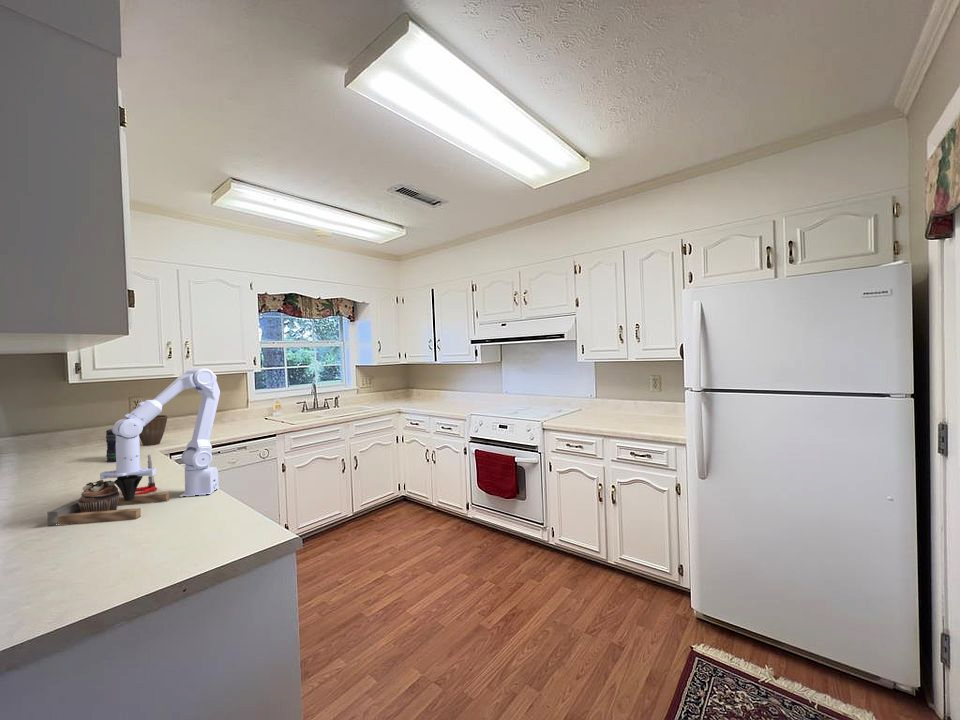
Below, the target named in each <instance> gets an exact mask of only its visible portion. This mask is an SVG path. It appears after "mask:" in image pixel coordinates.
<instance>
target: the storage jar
mask: <svg viewBox="0 0 960 720" xmlns="http://www.w3.org/2000/svg"><path fill="white" fill-rule="evenodd" d="M105 432H106V434H105V440H106V453H105V455H106V456H105V457H106V462H107V463H111V464H112V463H116V435H115V434H114V433H113V432H112V428H111V429H106V430H105Z"/></svg>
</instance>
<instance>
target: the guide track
mask: <svg viewBox="0 0 960 720" xmlns="http://www.w3.org/2000/svg"><path fill="white" fill-rule="evenodd" d="M170 494H171V493H170V491H168V492H155V493H153V492H152V493H145V494H137V495H135V496H134V499H132V500H130V501H125V500H124V497H123V496H121V495H120V496H119V501H118V505H117V506H127V505H128V506H129V505H139V504H140V505H141V504H151V502H154V503H162V502H161V501H166V502H168V501H169V499H170V500H171V498H170V497H171V496H170ZM79 499H80V498H78V499H75V500H73V501H71V502H68V503H66V504H64V505H61V506H59V507H56V508H54V509H52V510H49V511H47V513H46V515H47V526H48V525H55V526H59V525H58V524H68V525H72V524H71V523H80V524H88V523H87V522H92V523H103V522H104V521H105V522H115V521H127V520H137V519H139V518H140V517H141V515H142V514H141V512H142V511H141V508H140V507H139V508H125V509H117V510H110V511H97V512H84V513H81V510H80V506H79V504H78V501H79ZM167 500H168V501H167ZM56 524H57V525H56Z"/></svg>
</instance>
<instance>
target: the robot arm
mask: <svg viewBox="0 0 960 720" xmlns="http://www.w3.org/2000/svg"><path fill="white" fill-rule="evenodd" d="M217 378H218V377H217V375H216V374H215V373H214V372H213V371H212V370H211V369H210V368H203V367H202V368H190V369H187V370H186V371H185V372H184V373H182V374H180V375H179V376H178V377H177V378H176V379H175V380H174V381H173V382H171V383H170V384H169V385H168V386H167V387H166V388H165V389H163V390H162V391H161V392H160V393H159V394H157V396H155V398H153V399H146V400H145V401H140V402H139V403H137V405H138V406H137V407H135V408H134V409H133V410H132V411H131V412H130V413H126V414H125V415H124V417H125V418H121V419H119V420H117V421H116V422H115V423H114V424H113V426H112V428H111V429H112V432H113V433H114V434H115V435H116V462H115V469H116V470H108V471H107V470H106V471H102V472H100V473H99V479H100V480H105V479H115V480H113V481H114V483H115V486H116V487H117V488H118V490H120V492H121V494H123V497H124V500H125V501H130V500H132V499H134V496H135V493H137V491H136V489H137V488H138V486H139V485H140V482H141V481H142V479H143V477H148V476H155V475H157V468H155V467H154V468H153V467H152V469H150V468H148V467H146V468H145V467H144V468H143V467H141V445H140V444H141V443H140V442H141V440H140V437H139V434H140V433H141V432H142V430H143V426H145V425H147V424H148V423H149V422H150V421H151V420H152V419H154V418H155V417H156V416H157V415H161V413H162V411H163V406H164V405H166V404H167V403H168V402H170V401H171V400H172V399H174V398H175V397H176V396H177V395H179V394H180V393H182V391H184V390H188V389H195V390H196V391H197V392H198V393H199V394H200V396H201V398H200V401H199V402H200V403H199V407H198V411H197V416H196V420H195V425H194V427H193V432H192V437H191V440H190V441H189V442H188V443H187V445H186V448H185V450H184V451H183V452H182V454H181V455H180V456H181V457H180V459H181V462H182V464H184V492H183V493H181V494H180V495H179V497H180V498H181V497H182V498H184V497H183V496H186V497H196V496H195V495H199V496H207V495H206V494H210V495H211V494H213V493H215V491H214V490H216V489H215V488H217V490H219V489H220V486H219V470H218V467H216V466H210V465H211V463H212V462H213V454H212V449H213V447H212V444H211V440H210V439H211V435H212V431H213V427H214V423H215V422H214V421H215V418H216V413H217V409H218V404H219V400H220V395H221V391H220V388H219V383H218V381H217ZM217 490H216V491H217Z"/></svg>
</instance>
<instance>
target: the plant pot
mask: <svg viewBox="0 0 960 720" xmlns="http://www.w3.org/2000/svg"><path fill="white" fill-rule="evenodd" d="M167 420H168V415H166V414H165V415H164V414H162V415H161V414H158V415H157V416H156V417H155V418H154V419H152V420H151V421H150V422H149V423H148V424H147V425H145V426H143V430H142V432H141V433H140V434H139V441H140V442H141V443H142V446H146V447H148V446H156V445H160V443H161V441H162V439H163V436H164V434H165V430H166V427H167V422H168V421H167Z"/></svg>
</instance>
